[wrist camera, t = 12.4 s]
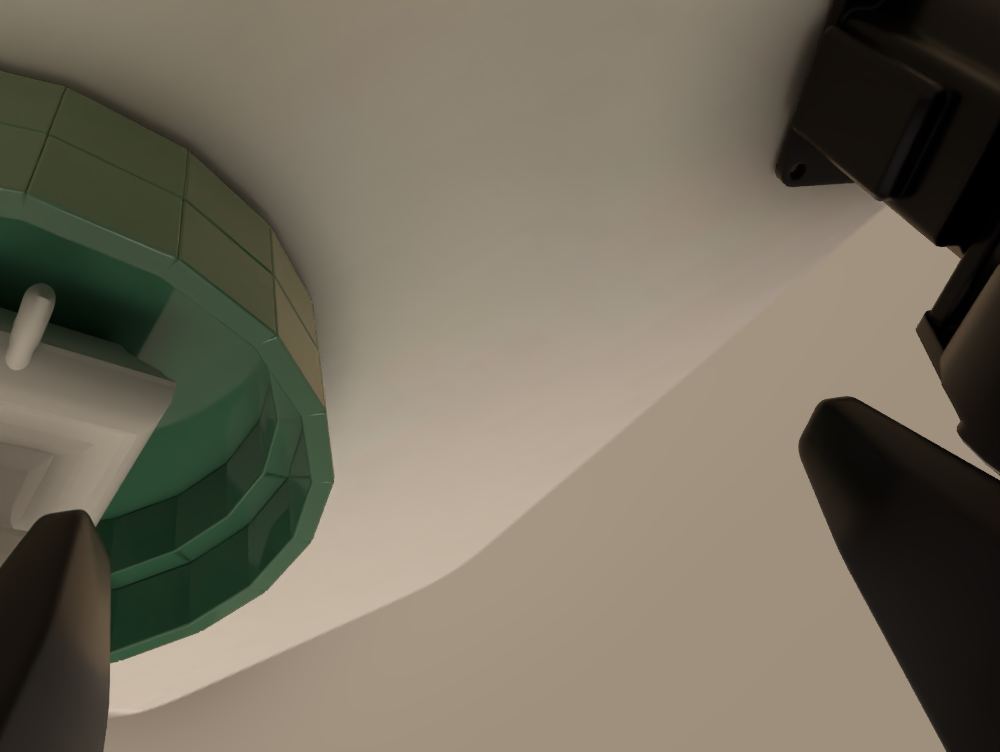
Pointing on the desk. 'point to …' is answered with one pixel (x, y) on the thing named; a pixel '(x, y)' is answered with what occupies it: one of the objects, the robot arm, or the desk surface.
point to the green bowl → (173, 353)
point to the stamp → (67, 417)
